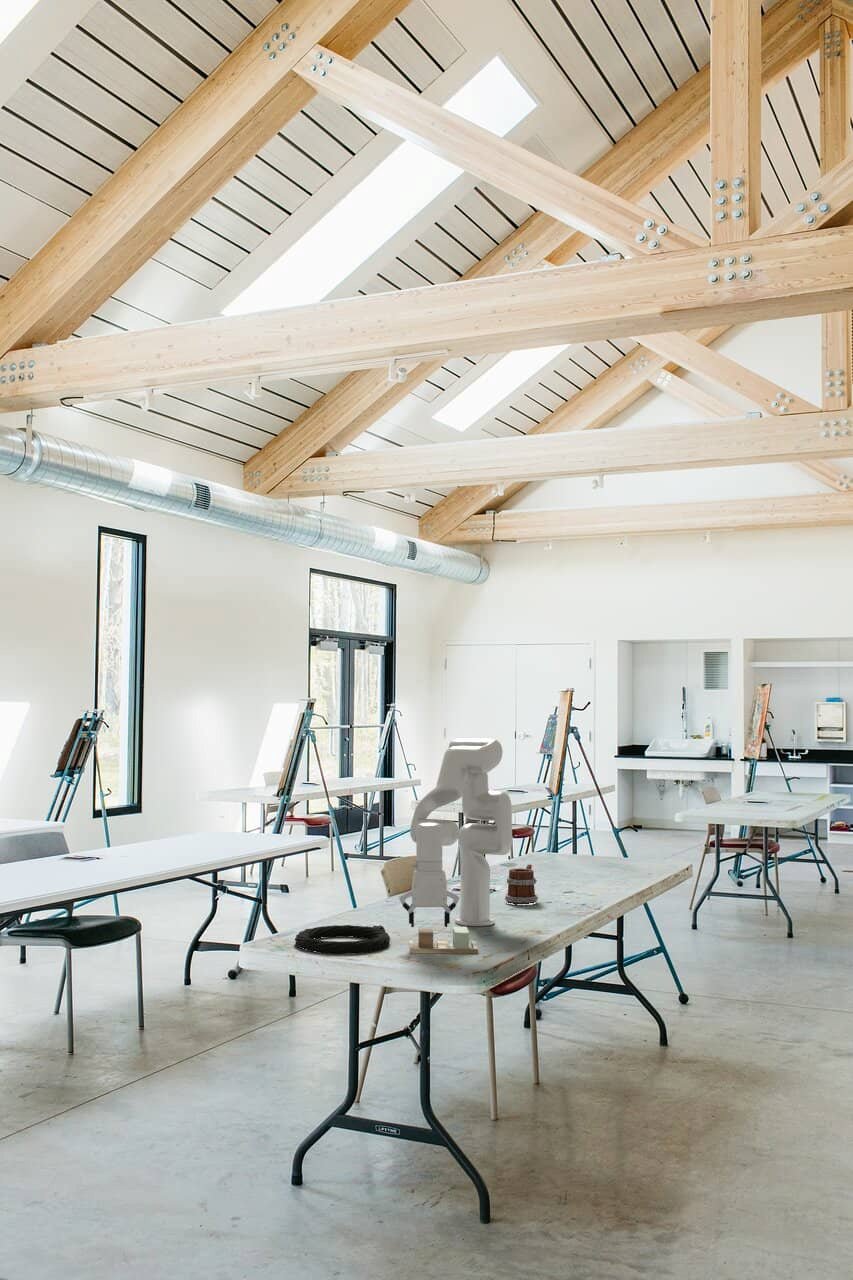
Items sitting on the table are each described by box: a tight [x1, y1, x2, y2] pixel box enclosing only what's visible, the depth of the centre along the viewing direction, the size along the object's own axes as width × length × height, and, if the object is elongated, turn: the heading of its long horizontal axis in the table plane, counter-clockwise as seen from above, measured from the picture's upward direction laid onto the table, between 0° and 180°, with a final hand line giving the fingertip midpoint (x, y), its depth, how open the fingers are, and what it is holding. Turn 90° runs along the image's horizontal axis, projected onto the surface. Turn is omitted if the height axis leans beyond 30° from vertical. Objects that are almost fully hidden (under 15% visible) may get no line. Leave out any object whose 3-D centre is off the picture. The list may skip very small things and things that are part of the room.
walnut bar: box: [417, 926, 434, 948], centre depth 315 cm, size 9×4×5 cm, turn 1°
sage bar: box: [452, 926, 470, 948], centre depth 316 cm, size 9×4×5 cm, turn 3°
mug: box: [504, 864, 539, 904], centre depth 396 cm, size 12×14×15 cm
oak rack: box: [408, 938, 479, 954], centre depth 315 cm, size 13×19×1 cm
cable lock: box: [294, 924, 391, 955], centre depth 320 cm, size 28×4×30 cm
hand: (429, 926), depth 318 cm, fingers open, 9 cm apart
